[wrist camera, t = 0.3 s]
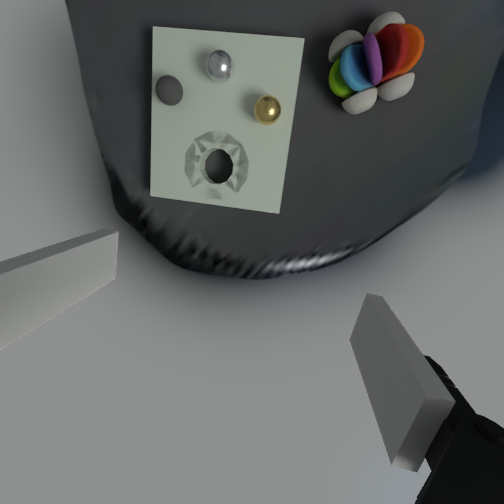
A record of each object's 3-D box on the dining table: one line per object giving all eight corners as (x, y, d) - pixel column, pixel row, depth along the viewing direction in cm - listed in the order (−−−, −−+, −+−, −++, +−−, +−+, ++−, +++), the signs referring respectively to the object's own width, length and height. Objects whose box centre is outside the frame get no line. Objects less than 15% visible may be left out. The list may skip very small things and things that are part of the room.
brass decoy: (257, 97, 34) (253, 89, 31) (283, 99, 34) (282, 92, 31) (254, 125, 35) (250, 121, 32) (279, 128, 35) (278, 124, 32)
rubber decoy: (162, 78, 35) (150, 69, 32) (187, 80, 35) (177, 72, 32) (162, 106, 36) (150, 101, 33) (186, 109, 36) (176, 103, 33)
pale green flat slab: (162, 35, 36) (152, 26, 34) (303, 47, 34) (304, 38, 32) (158, 194, 42) (150, 195, 40) (279, 211, 40) (278, 213, 38)
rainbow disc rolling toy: (416, 92, 34) (447, 72, 27) (336, 123, 36) (346, 112, 30) (400, 15, 32) (430, -27, 26) (317, 52, 35) (323, 22, 28)
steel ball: (211, 54, 34) (203, 43, 31) (238, 57, 34) (232, 45, 30) (209, 85, 35) (201, 76, 32) (235, 87, 34) (229, 79, 31)
